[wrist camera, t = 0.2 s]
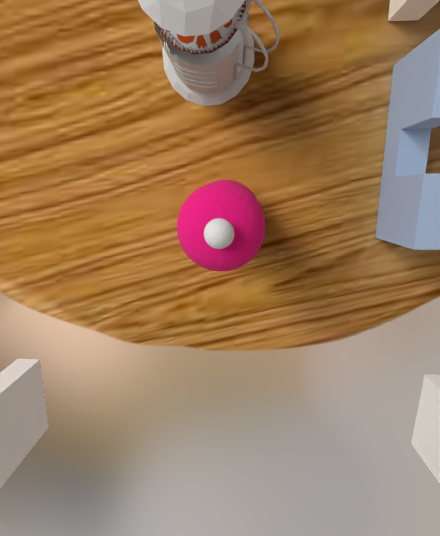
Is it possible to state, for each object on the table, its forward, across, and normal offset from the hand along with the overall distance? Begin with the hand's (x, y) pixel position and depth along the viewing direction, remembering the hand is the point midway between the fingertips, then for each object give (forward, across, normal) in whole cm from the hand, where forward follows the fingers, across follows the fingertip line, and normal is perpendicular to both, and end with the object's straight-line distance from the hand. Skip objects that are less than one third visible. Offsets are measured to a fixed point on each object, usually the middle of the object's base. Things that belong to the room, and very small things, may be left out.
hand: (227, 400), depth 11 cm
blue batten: (+28, +18, +11) cm, 35 cm away
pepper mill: (+28, -1, +5) cm, 28 cm away
